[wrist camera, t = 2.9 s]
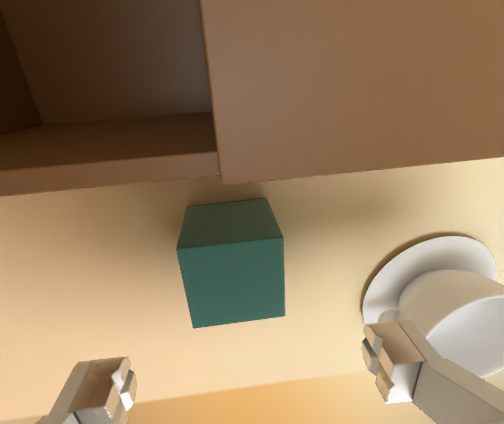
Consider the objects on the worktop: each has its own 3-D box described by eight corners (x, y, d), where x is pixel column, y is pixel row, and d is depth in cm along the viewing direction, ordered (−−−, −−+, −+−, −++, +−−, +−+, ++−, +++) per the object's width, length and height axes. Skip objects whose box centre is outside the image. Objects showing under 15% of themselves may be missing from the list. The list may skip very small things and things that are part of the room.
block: (199, 272, 18) (193, 329, 14) (186, 206, 16) (175, 249, 12) (270, 263, 18) (285, 316, 14) (266, 197, 16) (283, 236, 12)
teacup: (508, 225, 19) (592, 265, 15) (469, 331, 23) (525, 387, 19) (367, 240, 18) (412, 288, 14) (352, 347, 22) (384, 409, 18)
